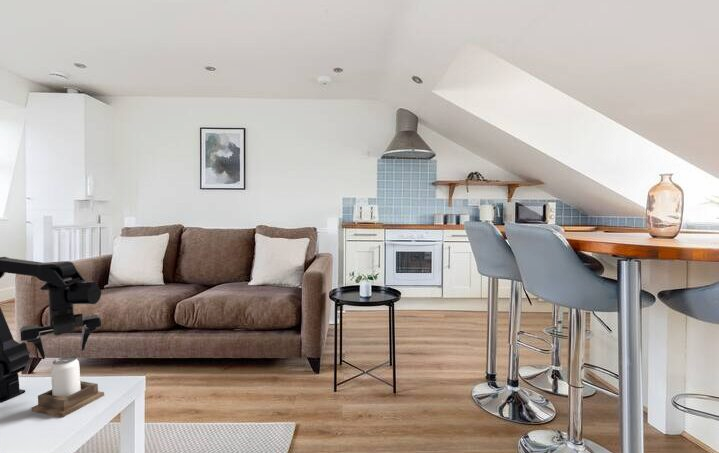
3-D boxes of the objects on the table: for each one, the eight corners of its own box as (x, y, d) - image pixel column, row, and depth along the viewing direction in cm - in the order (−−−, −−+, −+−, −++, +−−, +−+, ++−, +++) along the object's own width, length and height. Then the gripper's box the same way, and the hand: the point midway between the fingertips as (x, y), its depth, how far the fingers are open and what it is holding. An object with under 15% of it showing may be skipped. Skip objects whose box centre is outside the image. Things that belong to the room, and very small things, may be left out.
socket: (31, 410, 105) (30, 397, 105) (74, 390, 116) (74, 378, 116) (63, 417, 101) (62, 402, 101) (104, 395, 113) (103, 382, 113)
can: (65, 406, 105) (62, 365, 104) (47, 404, 106) (44, 363, 106) (86, 395, 111) (84, 356, 110) (69, 393, 113) (67, 354, 112)
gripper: (19, 316, 99) (22, 372, 100) (103, 303, 112) (105, 354, 113) (19, 307, 107) (21, 360, 108) (97, 296, 120) (99, 344, 121)
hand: (63, 354), depth 112 cm, fingers open, 9 cm apart
